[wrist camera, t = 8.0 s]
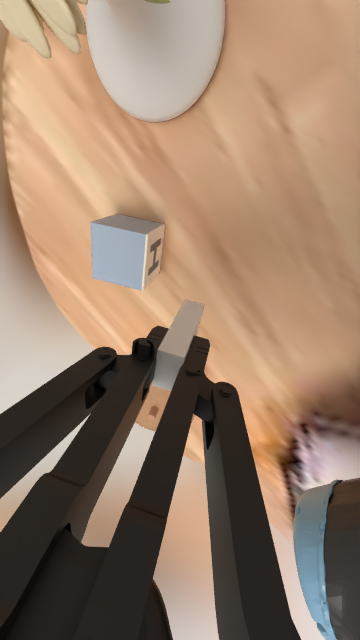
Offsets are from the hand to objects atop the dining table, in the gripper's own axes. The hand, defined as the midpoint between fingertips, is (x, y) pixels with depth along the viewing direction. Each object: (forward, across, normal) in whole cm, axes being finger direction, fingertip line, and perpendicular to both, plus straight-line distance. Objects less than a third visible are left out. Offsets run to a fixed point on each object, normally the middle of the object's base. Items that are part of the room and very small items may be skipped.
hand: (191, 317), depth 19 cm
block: (+10, +6, -1) cm, 12 cm away
